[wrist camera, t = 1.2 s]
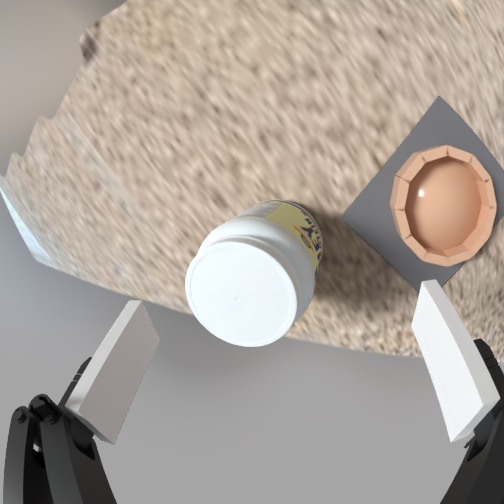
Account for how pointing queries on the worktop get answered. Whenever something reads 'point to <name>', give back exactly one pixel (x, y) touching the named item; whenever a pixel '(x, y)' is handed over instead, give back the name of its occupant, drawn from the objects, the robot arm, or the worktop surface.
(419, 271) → the placemat
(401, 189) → the bowl
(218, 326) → the supplement tub
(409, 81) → the worktop surface
